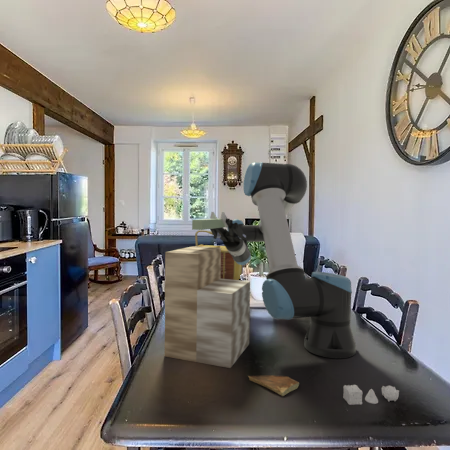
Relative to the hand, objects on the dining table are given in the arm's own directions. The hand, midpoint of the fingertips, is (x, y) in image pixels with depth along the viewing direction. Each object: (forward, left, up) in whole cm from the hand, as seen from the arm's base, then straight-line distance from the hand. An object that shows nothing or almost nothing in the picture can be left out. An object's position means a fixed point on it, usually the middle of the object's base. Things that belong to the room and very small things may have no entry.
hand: (216, 215), depth 121 cm
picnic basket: (+66, -54, -41) cm, 94 cm away
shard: (-40, +14, -41) cm, 59 cm away
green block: (-2, +3, -4) cm, 6 cm away
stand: (-13, +13, -40) cm, 44 cm away
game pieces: (-58, +1, -41) cm, 71 cm away
